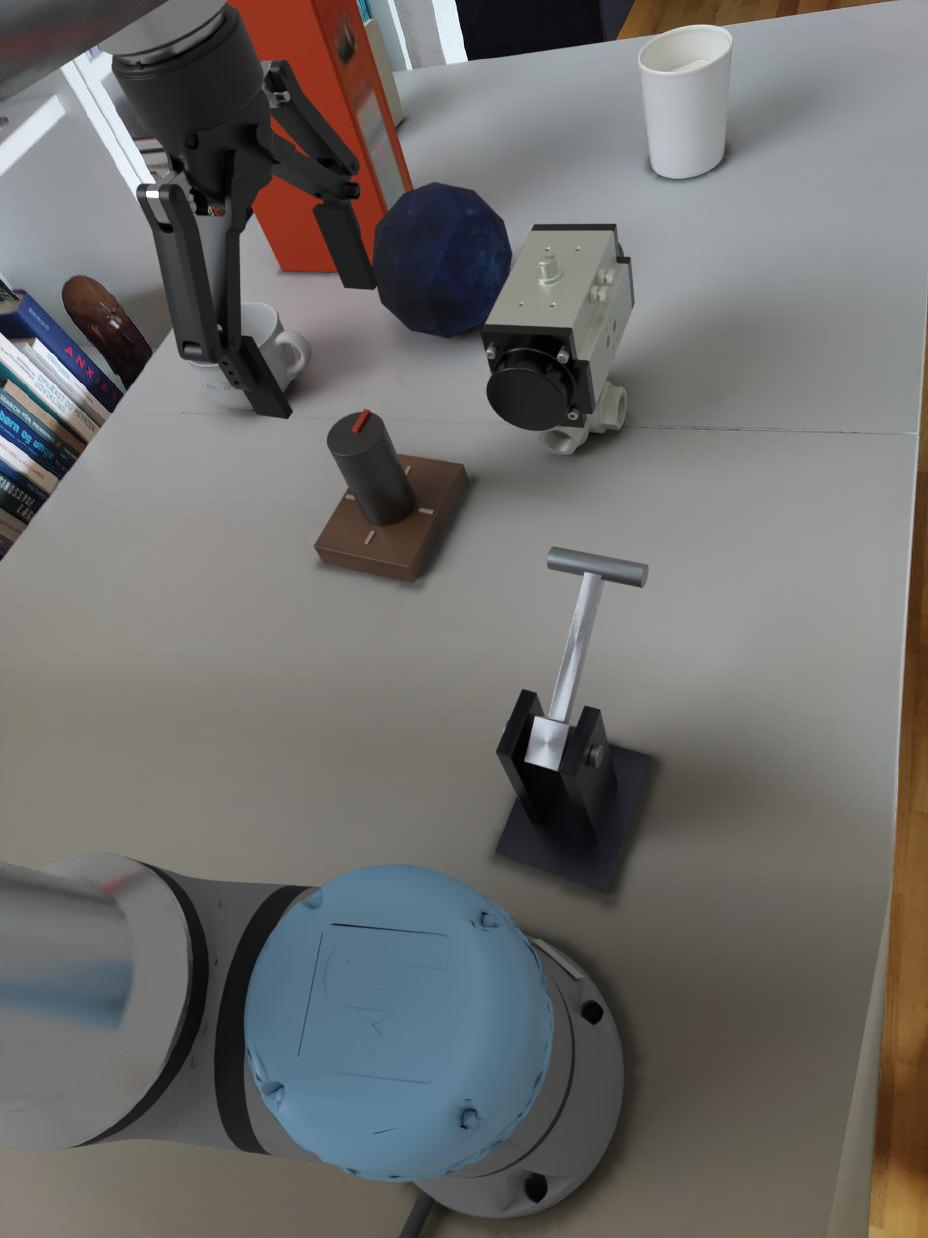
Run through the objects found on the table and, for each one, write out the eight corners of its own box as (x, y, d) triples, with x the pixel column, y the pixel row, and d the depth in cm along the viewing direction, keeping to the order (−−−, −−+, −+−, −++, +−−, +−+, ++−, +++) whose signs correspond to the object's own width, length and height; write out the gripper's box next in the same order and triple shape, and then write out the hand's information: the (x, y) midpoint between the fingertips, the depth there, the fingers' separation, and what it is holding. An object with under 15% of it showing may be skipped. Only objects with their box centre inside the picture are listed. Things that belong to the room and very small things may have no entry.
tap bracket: (547, 732, 64) (515, 644, 53) (652, 762, 60) (640, 674, 50) (498, 857, 59) (453, 787, 49) (607, 896, 56) (584, 831, 46)
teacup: (198, 414, 95) (161, 358, 89) (252, 349, 99) (220, 291, 93) (295, 436, 89) (262, 378, 83) (347, 366, 93) (320, 305, 87)
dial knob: (400, 530, 75) (366, 456, 67) (353, 520, 77) (314, 448, 69) (424, 487, 77) (393, 412, 70) (377, 479, 79) (342, 405, 72)
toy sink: (364, 116, 124) (331, 16, 114) (406, 117, 121) (376, 14, 111) (334, 150, 121) (298, 50, 110) (376, 151, 118) (343, 49, 107)
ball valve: (600, 501, 75) (574, 338, 60) (510, 490, 78) (464, 333, 63) (650, 360, 83) (637, 186, 68) (567, 355, 86) (537, 188, 72)
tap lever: (559, 550, 54) (548, 542, 52) (651, 568, 51) (644, 560, 49) (507, 752, 53) (494, 752, 51) (599, 780, 51) (589, 781, 49)
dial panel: (417, 584, 74) (408, 566, 72) (323, 562, 78) (312, 545, 76) (470, 481, 80) (463, 462, 77) (379, 466, 84) (370, 447, 81)
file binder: (403, 275, 100) (295, -41, 74) (281, 273, 107) (144, -18, 81) (427, 233, 104) (333, -83, 78) (308, 233, 111) (185, -58, 85)
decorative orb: (506, 204, 94) (400, 129, 84) (563, 270, 85) (452, 195, 75) (433, 312, 101) (327, 254, 91) (479, 383, 92) (367, 328, 82)
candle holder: (628, 160, 102) (620, 53, 92) (699, 125, 103) (698, 14, 93) (674, 194, 96) (669, 82, 87) (748, 156, 97) (752, 41, 87)
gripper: (83, 169, 38) (278, 482, 55) (335, -90, 49) (434, 240, 66) (-27, 168, 41) (191, 465, 59) (233, -76, 52) (353, 237, 69)
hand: (320, 346), depth 62 cm, fingers open, 13 cm apart
